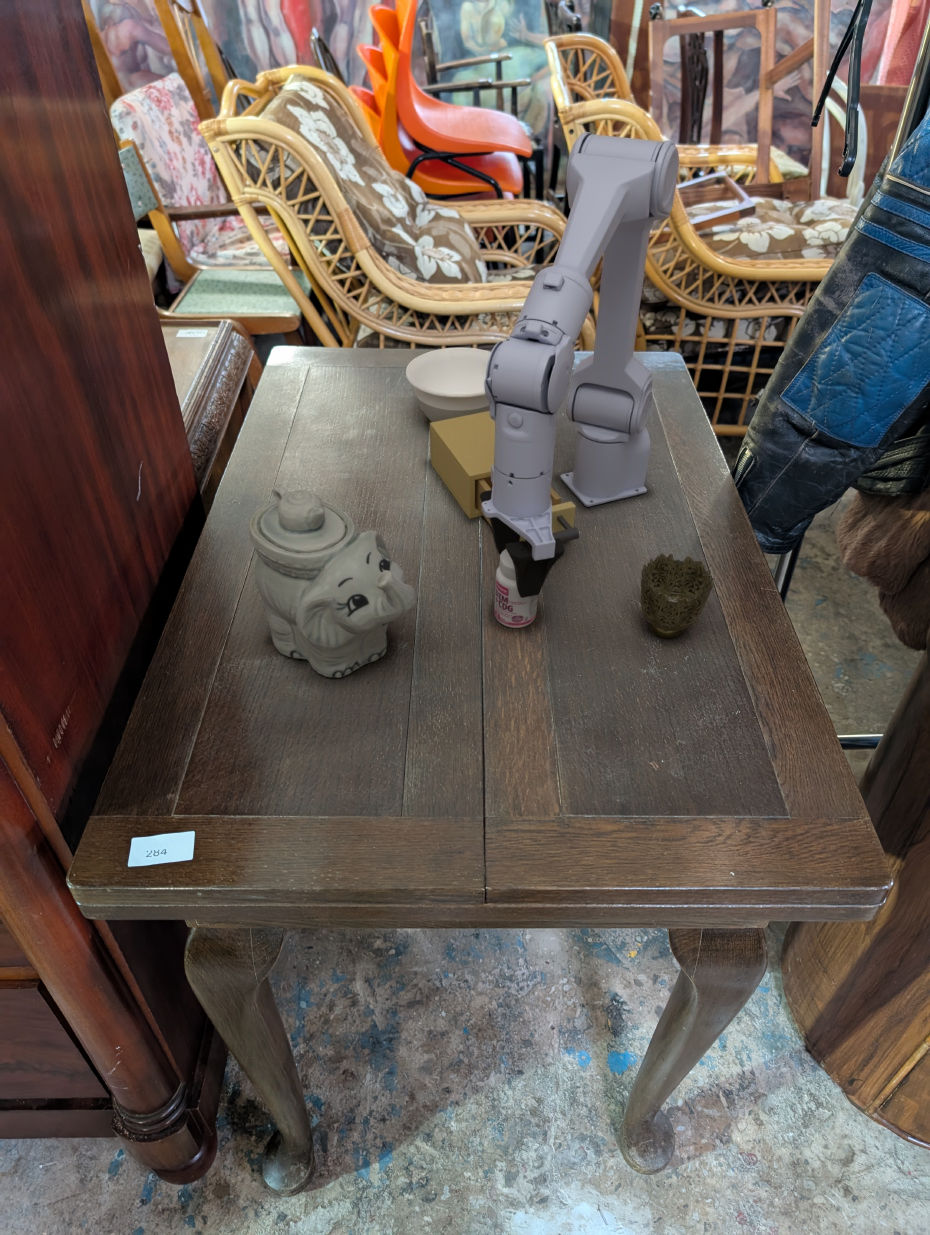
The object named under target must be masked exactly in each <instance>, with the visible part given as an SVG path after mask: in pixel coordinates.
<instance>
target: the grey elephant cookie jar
mask: <svg viewBox="0 0 930 1235" xmlns="http://www.w3.org/2000/svg"><path fill="white" fill-rule="evenodd" d="M272 495H273V497H274V499H275V500H273V501H270V502H267V503H265V504H263V505H262V506H260V507H259V508H258V509H257V510H256V511H255V513H253V514H252V516H251V518H250V520H249V528H248V529H249V530H248V532H249V533H248V534H249V540H250V542H251V543H252V547H253V548H254V550H255V552H256V554H257V558H256V561H255V564H254V570H253V572H254V583H255V586H256V589H257V591H258V593H259V595H260V599H261V600H260V602H261V607H262V610H263V612H264V616H265V618H266V620H267V623H268V626H269V628H270V634H271V638H272V643H273V645H274V647H275V648H276V650H277V651H278V652H279V653H280V654H281V655H284V656H285V657H288V658H289V657H290V658H293V659H303V660H307V661H308V662H309V664H310V666H311V668H312V669H313V670H314V671H315V672H316V673H318V674H320V675H321V676H324V677H328V678H336V679H337V678H338V679H340V678H342V677H346V676H348V675H350V674H351V673H353V672H354V671H356V670H357V669H360V668H361V667H362V666H364V665H366V664H369V663H372V662H375V661H377V660H379V659H380V658H382V657H384V656H385V654H386V652H387V649H388V639H387V631H388V626H389V624H391V623H393V622H395V621H398V620H401V619H402V618H404V617H406V616H407V615H409V614H411V613H413V611H414V609H415V608H416V606H417V593H416V591H415V590H416V589H414V587H413V586H412V585H410V584H408V579H407V576H406V573H405V572H404V570H403V568H402V567H401V566H400V565H399V564H398V563H396V562H395V561H392V560H391V557H390V556H391V555H390V553H389V551H388V548H387V546H386V543H385V541H384V539H383V537H382V536H381V534H380V533H379V532H378V531H376V530H365V531H363V532H361V533H358V532H357V528H356V525H355V523H354V521H353V519H352V518H351V517H350V516H349V515H348V514H347V512H346V511H344V510H343V509H341V508H340V507H339V506H336V505H334V504H333V503H330V502H329V501H326V500H322V499H321V497H319V496H318V495H317V494H316V493H315V492H313V491H309V490H306V489H298V490H293V491H288V489H286V487H284V486H283V485H281V484H276V485H274V486H273V488H272Z"/></svg>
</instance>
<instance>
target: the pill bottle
mask: <svg viewBox="0 0 930 1235" xmlns="http://www.w3.org/2000/svg"><path fill="white" fill-rule="evenodd" d="M494 582H495V586H494V611H493V612H494V616H495V619H496V620H497V621H498V622H499V623H500V624H501V625H503V626H505V627H507V628H513V629H519V628H524V627H527V626H529V625H531V624H532V622H534V620H535V619H536V617H537V610H538V600H539V599H538V598H539V594H538V595H535V596H530V597H524V598H521V597H520V595H519V593H518V590H517V584H516V575H515V568H514V564H513V561H512V559H511V557H510V555H509V553H508V551H507V550H506V549H505V550H504V551H503V552H502V553H501V554H499V562H498V567H497V568H496V571H495V581H494Z"/></svg>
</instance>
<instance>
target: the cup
mask: <svg viewBox="0 0 930 1235" xmlns="http://www.w3.org/2000/svg"><path fill="white" fill-rule="evenodd" d="M711 577H712V575H711V569H709V570H706V566H705V565H704V563H703V560H693V557H691V556H690V555H687V556H685V558H684V560H680V559H674V555H673V553H669V554H668V555H666V554H664V553H663V552H661V553H659V554H658V555H657V556H656V557H655V558H654V560H653V558H652V557H650V558H649V559H648V561H647V565H646V564H643V567H642V569H641V581H640V606H641V611H642V614H643V616H644V617H645V619H646V620H647V621H648V623H649V627H650V630H651V632H652V633H653V634H654V635H656V636H657V637H660V638H663V639H674V638H676V637H678V636H679V635H680V634H681V633H682V632H683V631H684V630H685V629H688V628H689V627H690V626H692V625H693V624H694V623H695V622H696V621H697V620H698V618H699V617H700V616H701V613H703V612H702V611H703V610H704V607H705V605H706V603H707V601H708V598H709V596H710V594H711V593H712V589H713V587H714V581H715V577H712V578H711Z"/></svg>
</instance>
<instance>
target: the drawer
mask: <svg viewBox="0 0 930 1235" xmlns="http://www.w3.org/2000/svg"><path fill="white" fill-rule="evenodd" d="M492 486H493V484H492V482H491V477H486V478H482V479H477V480H475V505H476V506H477V507H478V509H479V510H480V512H481V513H482V514H483V516H482V517H484V519H485V520H486V521H487V522H488V523H487V524H489V526H490V527H491V528H492V526H491V522H490V519H489V518H488V517H486V516H485V515H484V513H483V511H482V501H481V499H480V494H481V493H482V492H484V491H488V490H492ZM550 498H551V501H552V535H553V538H554V539H557V538H560V540H561V542H562V543H563V544H564V543H567V542H571V541H575V540H579V539H580V531H579V529H578V528H577V527H574V526H575V518H576V511H577V510H576V509H577V506H576V504H575V503H574V502H573V501H571V500H570V501H565V502H562V496H560V495H559V494H558V493H557V491H556V490H555V489H554V488H553V487H552V486H551V494H550ZM520 541H525V539H524V538H523V537H522V536H520Z"/></svg>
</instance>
